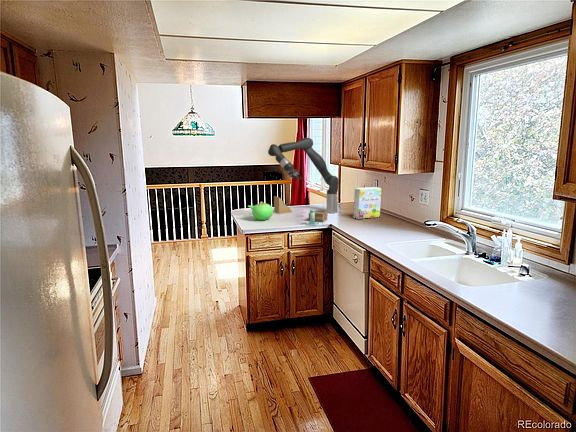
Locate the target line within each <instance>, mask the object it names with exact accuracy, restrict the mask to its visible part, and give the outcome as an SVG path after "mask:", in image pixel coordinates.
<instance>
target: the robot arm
mask: <svg viewBox="0 0 576 432" xmlns="http://www.w3.org/2000/svg"><path fill="white" fill-rule="evenodd" d="M313 146H314V140H313V139H312V138H310V137H302V138H300V139H299V141H293V142H286V143H281V144H279V145H277V144H275V143H272V144H271V145H270V146H269V148H268V149H267V153H268V155H269V156H271V157H275V161H276V162H277V163H278V164H279V165H280V167H281V168H282V169H283V170H284V171H285V172H286V173H287V174H288V176H289V177H290V178H292V179H294V181H296V182H297V181H298V180H300V181H301V180H302V179H303V177H302V176H301V173H300V172H299V171H298V170H297V169H296V168H294V164H293V163H292V162H291V161H290V160H289V159H288V158H287V157H285V155H284V154H283V153H287V152H292V151H296V150H300V149H301V150H303V152H305V154H306V156H307V157H308V158H309V160H310V161H311V162H312V164H313V165H314V167H315V168H316V170H317V171H318V172H319V174H320V175H321V177H322V179H323V180H324V182H325V184H326V185H327V186H328V189H327V190H326V208H325V209H326V210H325V211H328V214H337V213H338V209H339V207H338V206H339V205H338V204H339V202H338V191H339V182H340V181H339V178H338V176H336V175H332V174H331V173H330V171H329V170H328V168H327V164H326V161H325V160H324V158H323V157H322V156H321V154H319V152H317V151H316V150H315V149H314V148H313Z"/></svg>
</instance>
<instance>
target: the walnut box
mask: <svg viewBox="0 0 576 432" xmlns="http://www.w3.org/2000/svg"><path fill="white" fill-rule="evenodd" d="M314 210H315V223H324V222H325V221H327V220H328V214H329V213H328V211H326V210H316V209H314ZM308 222H310V211H309V212H308Z"/></svg>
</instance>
